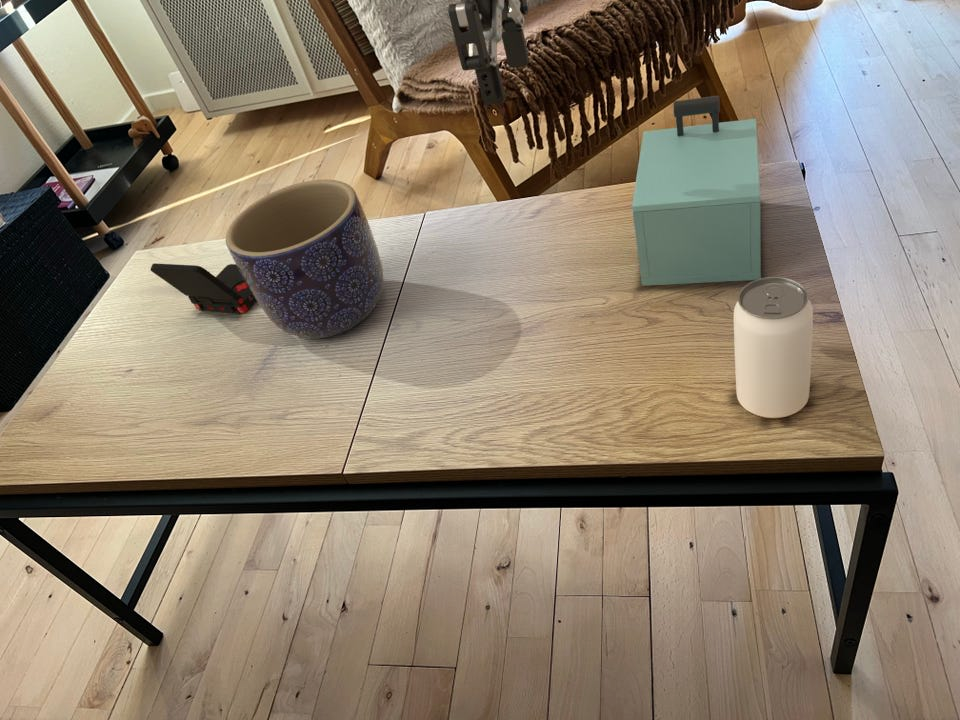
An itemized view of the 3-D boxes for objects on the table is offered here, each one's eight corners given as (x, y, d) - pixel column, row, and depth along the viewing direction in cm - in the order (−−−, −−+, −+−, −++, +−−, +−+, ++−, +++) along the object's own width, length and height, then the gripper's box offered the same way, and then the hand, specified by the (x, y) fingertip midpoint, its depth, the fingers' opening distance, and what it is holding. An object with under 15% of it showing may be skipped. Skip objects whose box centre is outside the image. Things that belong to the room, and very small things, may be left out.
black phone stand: (281, 274, 112) (251, 215, 106) (233, 329, 105) (198, 269, 98) (231, 271, 116) (200, 214, 110) (181, 324, 109) (145, 266, 102)
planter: (418, 280, 103) (382, 180, 93) (348, 363, 93) (300, 262, 83) (323, 267, 111) (282, 175, 101) (250, 343, 101) (196, 249, 92)
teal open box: (651, 210, 102) (643, 140, 95) (757, 201, 98) (756, 128, 91) (642, 286, 91) (632, 213, 84) (760, 279, 86) (760, 202, 80)
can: (810, 374, 75) (815, 273, 67) (807, 423, 70) (812, 322, 63) (739, 370, 77) (736, 273, 69) (732, 418, 73) (728, 320, 65)
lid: (644, 137, 96) (639, 98, 93) (756, 124, 92) (755, 83, 88) (632, 212, 84) (627, 171, 81) (760, 202, 80) (760, 158, 77)
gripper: (480, -72, 64) (522, 112, 74) (528, -119, 74) (559, 50, 84) (400, -56, 67) (451, 119, 77) (456, -103, 77) (495, 58, 87)
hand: (507, 83), depth 81 cm, fingers open, 8 cm apart
